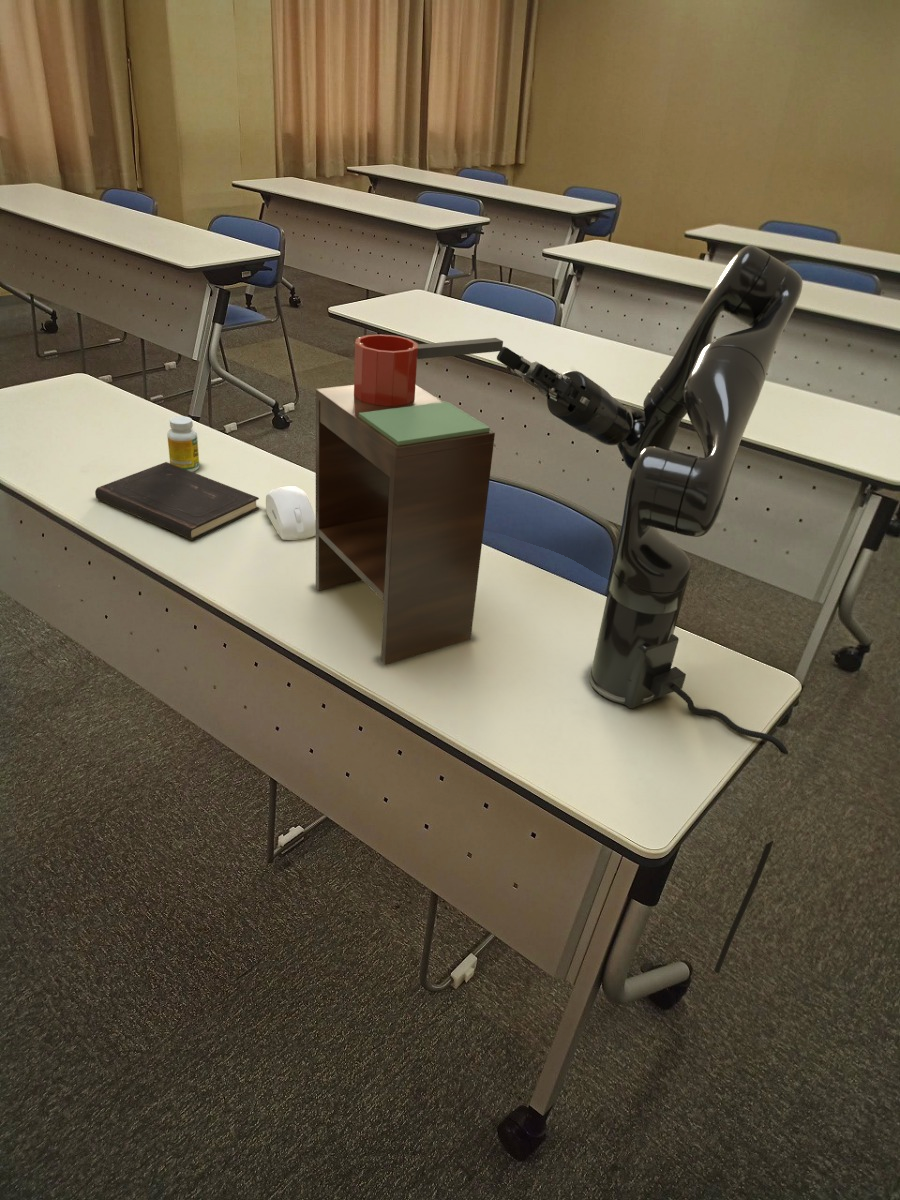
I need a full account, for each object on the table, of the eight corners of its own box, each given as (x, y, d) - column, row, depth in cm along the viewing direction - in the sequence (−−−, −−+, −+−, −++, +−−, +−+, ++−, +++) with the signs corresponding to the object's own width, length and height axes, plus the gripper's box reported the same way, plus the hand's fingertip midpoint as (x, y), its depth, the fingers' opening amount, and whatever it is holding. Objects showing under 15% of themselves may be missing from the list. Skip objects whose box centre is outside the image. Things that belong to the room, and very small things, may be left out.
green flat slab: (489, 432, 105) (490, 427, 104) (398, 446, 98) (398, 441, 98) (446, 405, 111) (446, 401, 111) (358, 417, 105) (358, 412, 105)
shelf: (470, 639, 121) (495, 433, 104) (384, 664, 114) (396, 448, 98) (395, 568, 136) (406, 378, 120) (315, 587, 129) (315, 388, 113)
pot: (510, 391, 119) (517, 341, 115) (371, 409, 108) (373, 354, 104) (479, 374, 124) (484, 326, 121) (343, 389, 114) (344, 336, 110)
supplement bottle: (171, 462, 163) (166, 414, 158) (200, 462, 165) (196, 414, 159) (169, 473, 159) (164, 425, 154) (199, 473, 160) (195, 425, 155)
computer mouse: (281, 543, 140) (280, 508, 137) (262, 509, 150) (261, 476, 146) (319, 538, 142) (319, 504, 139) (298, 505, 152) (297, 473, 149)
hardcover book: (167, 473, 159) (166, 461, 158) (259, 509, 150) (258, 497, 148) (95, 500, 147) (94, 488, 146) (191, 541, 138) (189, 529, 136)
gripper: (566, 369, 137) (502, 324, 126) (626, 397, 127) (562, 351, 116) (542, 410, 139) (477, 369, 128) (599, 441, 129) (534, 400, 118)
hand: (517, 361), depth 122 cm, fingers open, 8 cm apart
